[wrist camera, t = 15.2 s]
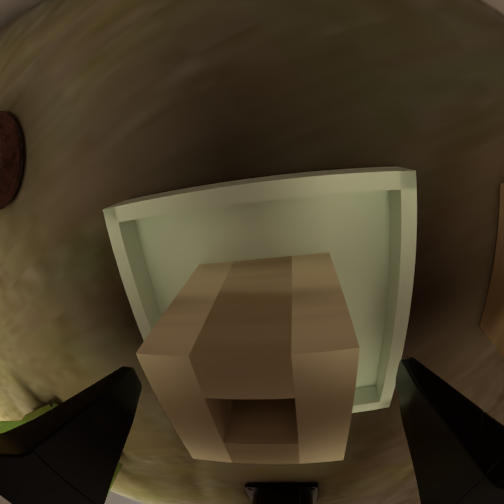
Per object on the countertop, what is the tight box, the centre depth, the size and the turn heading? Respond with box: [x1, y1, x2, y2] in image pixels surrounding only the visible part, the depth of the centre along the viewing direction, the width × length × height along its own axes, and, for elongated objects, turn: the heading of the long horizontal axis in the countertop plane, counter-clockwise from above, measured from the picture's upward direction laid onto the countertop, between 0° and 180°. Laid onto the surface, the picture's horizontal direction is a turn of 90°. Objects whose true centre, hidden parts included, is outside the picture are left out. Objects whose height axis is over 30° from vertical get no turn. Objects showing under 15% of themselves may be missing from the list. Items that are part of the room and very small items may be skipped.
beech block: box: [136, 252, 360, 464], centre depth 9 cm, size 5×5×6 cm
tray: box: [103, 166, 417, 413], centre depth 11 cm, size 11×11×2 cm
